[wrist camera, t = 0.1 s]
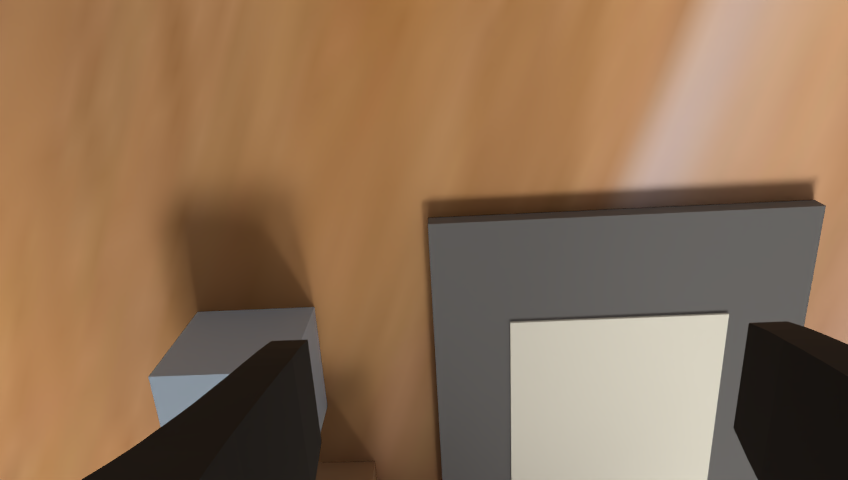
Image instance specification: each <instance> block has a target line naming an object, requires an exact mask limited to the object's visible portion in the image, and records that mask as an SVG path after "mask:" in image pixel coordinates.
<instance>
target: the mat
mask: <svg viewBox="0 0 848 480" xmlns="http://www.w3.org/2000/svg"><path fill="white" fill-rule="evenodd" d="M825 207H826V206H825V205H823V204H821V203H819V202H818V201H816V200H802V201H781V202H759V203H738V204H716V205H695V206H674V207H652V208H631V209H609V210H588V211H566V212H545V213H523V214H502V215H480V216H459V217H437V218H428V235H429V252H430V270H431V288H432V305H433V323H434V341H435V359H436V376H437V394H438V412H439V429H440V447H441V465H442V480H758V479H757V477H756V475H755V473H754V471H753V469H752V467H751V465H750V463H749V461H748V459H747V457H746V455H745V452H744V450H743V448H742V446H741V444H740V441H739V439H738V437H737V435H736V433H735V430H734V428H733V427H734V420H735V414H736V407H737V400H738V393H739V386H740V380H741V373H742V366H743V359H744V352H745V345H746V339H747V332H748V325H749V323H757V322H784V321H788V322H791V323H794V324H797V325H801V326H803V327H804V323H805V317H806V312H807V306H808V301H809V295H810V290H811V284H812V279H813V273H814V268H815V262H816V257H817V251H818V246H819V240H820V235H821V229H822V224H823V218H824V213H825Z"/></svg>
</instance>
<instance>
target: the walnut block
mask: <svg viewBox="0 0 848 480" xmlns="http://www.w3.org/2000/svg"><path fill="white" fill-rule="evenodd" d="M316 480H377V477H376V467H375V461H362V462H329V463H318V468H317V474H316Z"/></svg>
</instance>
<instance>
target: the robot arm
mask: <svg viewBox="0 0 848 480" xmlns="http://www.w3.org/2000/svg"><path fill="white" fill-rule="evenodd" d="M733 428H734V430H735V433H736V435H737V437H738V439H739V441H740V444H741V446H742V448H743V450H744V452H745V455H746V457H747V459H748V461H749V463H750V465H751V467H752V469H753V471H754V473H755V475H756V477H757V479H758V480H848V344H845V343H843V342H841V341H838V340H836V339H834V338H831V337H829V336H826V335H824V334H822V333H819V332H817V331H814V330H812V329H809V328H806V327H803V326H801V325H797V324H794V323H791V322H788V321H784V322H757V323H749V325H748V332H747V339H746V345H745V352H744V359H743V366H742V373H741V380H740V386H739V393H738V400H737V407H736V414H735V420H734V427H733ZM320 448H321V434H320V426H319V419H318V412H317V404H316V397H315V390H314V382H313V375H312V367H311V360H310V353H309V345H308V340H282V341H271V342H269V343H268V344H266V345H265V346H264V347H262V348H261V349H260V350H258V351H257V352H256V353H255V354H253V355H252V356H251V357H250V358H249V359H247V360H246V361H245V362H244V363H242V364H241V365H240V366H239V367H238V368H236V369H235V370H234V371H233V372H232V373H230V374H229V375H228V376H227V377H225V378H224V379H223V380H222V381H221V382H219V383H218V384H217V385H216V386H214V387H213V388H212V389H211V390H209V391H208V392H207V393H206V394H204V395H203V396H202V397H201V398H199V399H198V400H197V401H196V402H194V403H193V404H192V405H191V406H189V407H188V408H186V409H185V410H184V411H182V412H181V413H180V414H178V415H177V416H176V417H174V418H173V419H171V420H170V421H169V422H167V423H166V424H165V425H163V426H162V427H161V428H159V429H158V430H157V431H155V432H154V433H152V434H151V435H150V436H148V437H147V438H146V439H144V440H143V441H141V442H140V443H139V444H137V445H136V446H134V447H133V448H131V449H130V450H128V451H127V452H125V453H124V454H122V455H121V456H119V457H117V458H116V459H114V460H113V461H111V462H110V463H108V464H106V465H105V466H103V467H102V468H100V469H98V470H97V471H95V472H93V473H92V474H90V475H88V476H87V477H85V478H83V479H82V480H316V474H317V468H318V461H319V454H320Z"/></svg>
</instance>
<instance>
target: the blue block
mask: <svg viewBox="0 0 848 480" xmlns="http://www.w3.org/2000/svg"><path fill="white" fill-rule="evenodd" d="M282 340H308V345H309V353H310V360H311V367H312V375H313V382H314V390H315V397H316V404H317V412H318V419H319V426H320V433H321V429H322V425H323V421H324V418H325V414H326V410H327V399H326V391H325V383H324V376H323V368H322V361H321V353H320V345H319V338H318V330H317V323H316V315H315V308H314V307H302V308H278V309H254V310H230V311H206V312H197V313H196V315H195V316H194V317H193V319H192V320H191V321H190V323H189V324H188V325H187V327H186V328H185V329H184V330H183V332H182V333H181V334H180V336H179V337H178V338H177V340H176V341H175V342H174V344H173V345H172V346H171V348H170V349H169V350H168V352H167V353H166V354H165V356H164V357H163V358H162V360H161V361H160V362H159V364H158V365H157V366H156V368H155V369H154V370H153V371H152V373H151V374H150V375H149V381H150V385H151V389H152V393H153V397H154V401H155V405H156V409H157V413H158V417H159V421H160V426H161V427H162V426H163V425H165V424H166V423H167V422H169V421H170V420H171V419H173V418H174V417H176V416H177V415H178V414H180V413H181V412H182V411H184V410H185V409H186V408H188V407H189V406H191V405H192V404H193V403H194V402H196V401H197V400H198V399H199V398H201V397H202V396H203V395H204V394H206V393H207V392H208V391H209V390H211V389H212V388H213V387H214V386H216V385H217V384H218V383H219V382H221V381H222V380H223V379H224V378H225V377H227V376H228V375H229V374H230V373H232V372H233V371H234V370H235V369H236V368H238V367H239V366H240V365H241V364H242V363H244V362H245V361H246V360H247V359H249V358H250V357H251V356H252V355H253V354H255V353H256V352H257V351H258V350H260V349H261V348H262V347H264V346H265V345H266V344H268V343H269V342H271V341H282Z"/></svg>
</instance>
